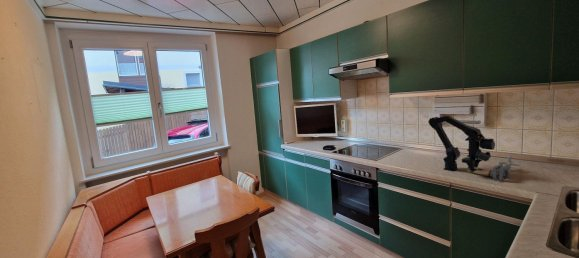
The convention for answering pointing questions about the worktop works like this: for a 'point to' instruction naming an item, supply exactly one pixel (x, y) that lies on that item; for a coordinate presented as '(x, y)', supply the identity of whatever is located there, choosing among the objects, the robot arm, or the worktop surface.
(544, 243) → the worktop surface
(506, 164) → the pipe connector
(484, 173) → the tube
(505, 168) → the firebox collars
